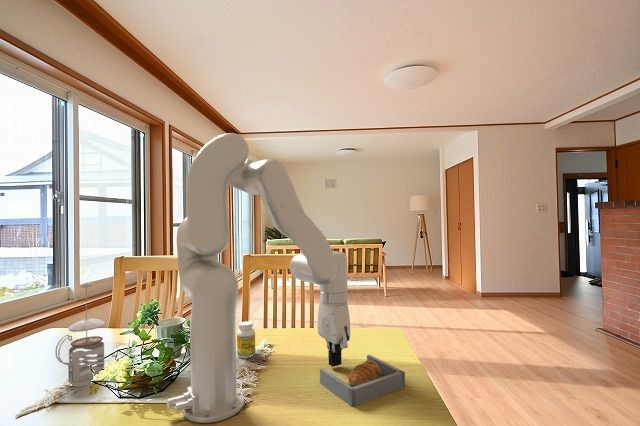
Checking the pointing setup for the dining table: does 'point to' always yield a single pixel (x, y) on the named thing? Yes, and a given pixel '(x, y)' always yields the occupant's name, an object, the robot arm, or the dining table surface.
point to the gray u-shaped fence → (365, 384)
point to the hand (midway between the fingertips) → (335, 364)
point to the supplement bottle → (245, 340)
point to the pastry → (364, 373)
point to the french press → (82, 373)
